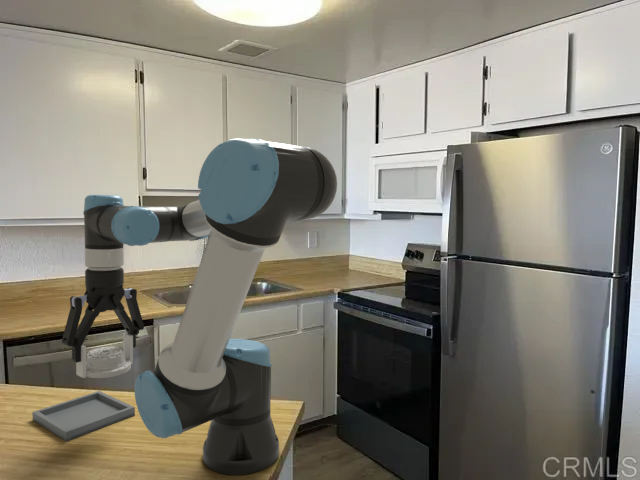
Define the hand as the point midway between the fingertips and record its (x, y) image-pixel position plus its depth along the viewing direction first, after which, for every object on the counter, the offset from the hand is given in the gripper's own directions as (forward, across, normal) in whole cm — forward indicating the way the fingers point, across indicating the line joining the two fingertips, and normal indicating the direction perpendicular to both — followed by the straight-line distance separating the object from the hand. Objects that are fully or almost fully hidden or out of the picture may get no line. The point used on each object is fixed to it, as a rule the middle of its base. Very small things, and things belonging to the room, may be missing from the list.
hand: (105, 369), depth 105 cm
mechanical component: (+1, 0, 0) cm, 1 cm away
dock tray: (+15, -1, -11) cm, 18 cm away
